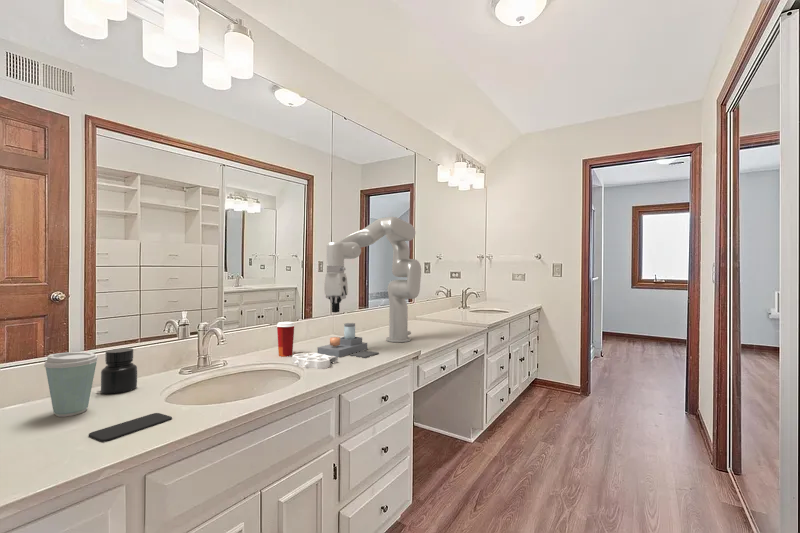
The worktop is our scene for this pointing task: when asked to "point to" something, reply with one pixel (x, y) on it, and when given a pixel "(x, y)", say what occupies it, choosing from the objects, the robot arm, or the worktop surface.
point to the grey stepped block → (344, 347)
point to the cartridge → (349, 331)
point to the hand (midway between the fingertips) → (335, 312)
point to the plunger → (335, 341)
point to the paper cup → (285, 338)
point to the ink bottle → (119, 372)
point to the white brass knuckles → (313, 360)
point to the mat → (364, 354)
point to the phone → (129, 427)
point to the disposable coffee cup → (70, 381)
